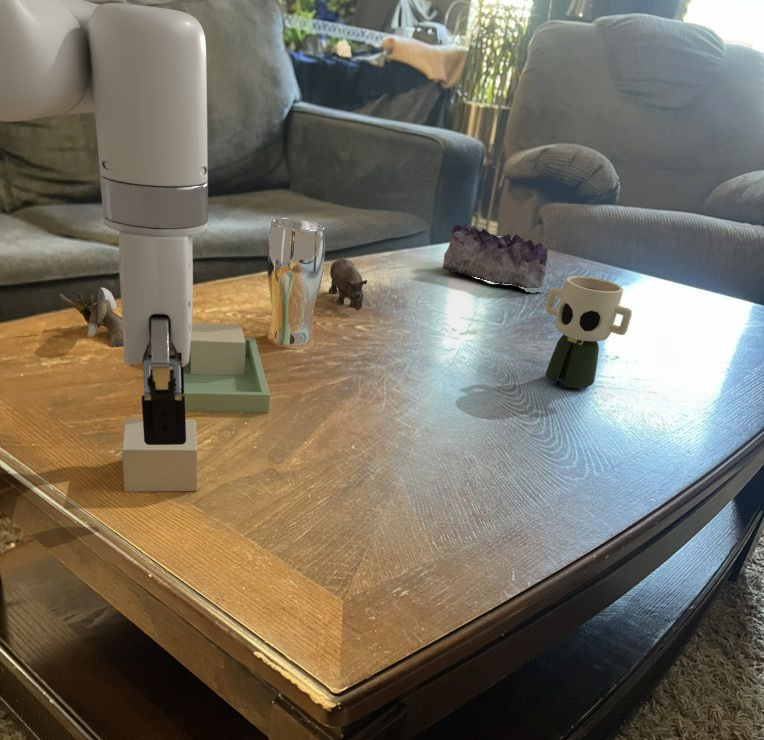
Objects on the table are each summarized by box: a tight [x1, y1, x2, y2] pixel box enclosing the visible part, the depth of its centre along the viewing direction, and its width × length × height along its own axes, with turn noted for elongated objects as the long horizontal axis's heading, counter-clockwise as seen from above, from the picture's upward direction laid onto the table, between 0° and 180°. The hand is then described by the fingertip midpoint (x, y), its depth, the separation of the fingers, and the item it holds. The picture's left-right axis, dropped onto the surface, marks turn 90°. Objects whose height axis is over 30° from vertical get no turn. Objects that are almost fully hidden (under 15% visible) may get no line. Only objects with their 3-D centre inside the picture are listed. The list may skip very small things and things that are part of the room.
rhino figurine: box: [328, 256, 368, 311], centre depth 118 cm, size 4×14×6 cm, turn 16°
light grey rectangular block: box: [121, 418, 198, 493], centre depth 68 cm, size 6×6×4 cm
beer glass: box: [266, 217, 326, 350], centre depth 98 cm, size 7×7×15 cm
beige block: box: [190, 322, 245, 376], centre depth 90 cm, size 6×6×4 cm
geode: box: [442, 223, 549, 288], centre depth 141 cm, size 20×12×10 cm, turn 62°
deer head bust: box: [58, 287, 124, 348], centre depth 94 cm, size 8×7×9 cm
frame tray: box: [174, 337, 271, 414], centre depth 87 cm, size 17×10×2 cm, turn 13°
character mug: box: [545, 275, 633, 389], centre depth 98 cm, size 11×7×13 cm, turn 55°
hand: (165, 417), depth 66 cm, fingers open, 9 cm apart
